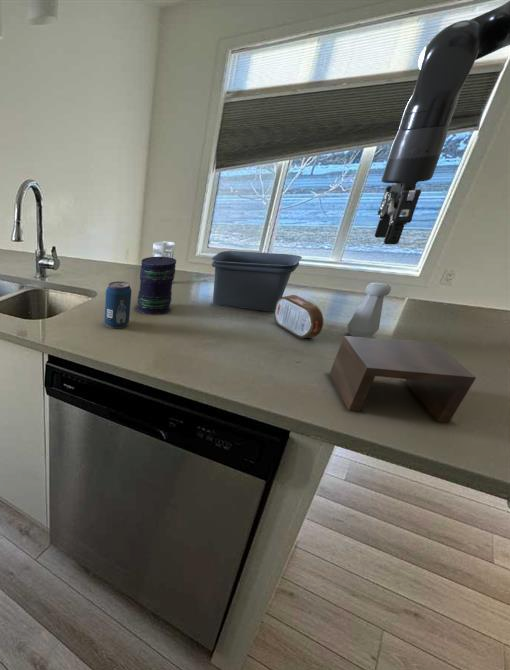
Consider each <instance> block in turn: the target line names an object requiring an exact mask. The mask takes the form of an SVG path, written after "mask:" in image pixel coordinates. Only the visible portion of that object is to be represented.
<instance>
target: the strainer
mask: <svg viewBox="0 0 510 670" xmlns="http://www.w3.org/2000/svg"><path fill="white" fill-rule="evenodd" d="M175 247H176V243H175V242H173V241H167V240H162V241H157V242H153V245H152V253H151V257H170V258H174V255H175Z"/></svg>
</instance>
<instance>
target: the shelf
mask: <svg viewBox="0 0 510 670" xmlns="http://www.w3.org/2000/svg"><path fill="white" fill-rule="evenodd" d="M329 377H330V378H331V380H332V382H333V384H334V386H335V388H336V389H337V392H338V394H339V395H340V397H341V399H342V400H343V402H344V404H345V406H346V407H347V409H348V411H352V412H360V411H361V409H362V407H363V405H364V403H365V400H366V398H367V396H368V393H369V391H370V389H371V386H372V385H373V382H374V380H375V378H376V377H380V378H391V379H400V380H404V383H405V384H406V385H407V387H408V388H409V389H410V390H411V392H412V393H413V394H414V395H415V396H416V397H417V398H418V400H419V401H420V402H421V403H422V404H423V406H424V407H425V408H426V409H427V411H428V412H429V413H430V415H432V417H433V418H434V419H435V420H436V421H437V422H441V423H450V422H451V421H452V419H453V417H454V415H455V414H456V412H457V410H458V409H459V407H460V405H461V404H462V402H463V400H464V399H465V397H466V395H467V393H468V392H469V390H470V388H471V387H472V386H473V384H474V382H475V380H476V379H477V377H476V375H474V374H473V373H472V372H470V371H469V370H468V369H467V368H466V367H465V366H464V365H463V364H462V363H461V362H459V361H458V360H457V359H456V358H455V357H453V356H452V355H451V354H450V353H449V352H448V351H446V350H445V349H444V347H442V346H441V345H440V344H439V343H437V342H436V341H425V340H413V339H397V338H381V337H370V338H369V337H354V336H350V335H344V336H343V337H342V340H341V343H340V345H339V349H338V351H337V353H336V355H335V359H334V360H333V364H332V366H331V369H330V370H329Z"/></svg>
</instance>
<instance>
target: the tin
mask: <svg viewBox="0 0 510 670" xmlns="http://www.w3.org/2000/svg"><path fill="white" fill-rule="evenodd" d="M321 310H322V309H320V308H319V306H318V305H316V304H314V303H312V302H310V301H308V300H306V299H304V298H302V297H301V296H298V295H296V294H290V295H285V296H282V297H281V298H280V299H279V300H278V301H277V303H276V307H275V310H274V319H275V321H276V323H277V324H278V326H280V327H281V328H283V329H285V330H286V331H288V332H289V333H291V334H293V335H294V336H295V337H297V338H299V339H307V338H315V337H317V336H319V334H320V333H321V332H322V330H323V327H324V316H323V312H322V311H321Z"/></svg>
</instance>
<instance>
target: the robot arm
mask: <svg viewBox="0 0 510 670" xmlns="http://www.w3.org/2000/svg"><path fill="white" fill-rule="evenodd" d="M508 46H510V0H508V1H507V2H505V3H503V4H501V5H500V6H498V7H496V8H493V9H491V10H490V11H486V12H485V13H481V14H480V15H477V16H476V17H474V18H471V19H465V20H464V19H463V20H460V21H457V22H454V23H451V24H450V25H447V26H445V27H444V28H443V29H442V30H440V31H439V32H438V33H437V34H435V36H433V38H431V39H430V40H429V42H428V43H427V44H426V45H425V46H424V48H423V49H422V51H421V53H420V55H419V58H418V68H419V73H418V75H417V79H416V83H415V85H414V86H415V87H414V89H413V93H412V95H411V97H410V98H409V101H408V102H407V105H406V106H405V108H404V112H403V115H402V117H401V120H400V123H399V128H398V131H397V133H396V136H395V138H394V140H393V141H392V145H391V148H390V150H389V153H388V157H387V161H386V162H385V163H386V164H385V167H384V170H383V174H382V177H381V179H380V180H381V182H382V183H384V184H392V185H387V186H386V187H385V189H384V194H383V196H382V200H381V201H380V205H379V209H378V210H377V215H378V219H379V220H378V223H377V225H376V226H377V227H376V228H375V232H374V237H375V238H377V239H381V238H384V239H383V240H384V241H383V244H384V245H397V244H398V243H400V240H401V237H402V233H403V230H404V228H405V226H406V225H408V224H410V223H411V222H412V220H413V216H414V213H415V211H416V207H417V204H418V201H419V198H420V196H421V194H422V189H421V188H419V189H416V187H417V183H419V182H428V181H430V180H431V179H432V178H433V177H434V174H435V171H436V168H437V165H438V163H439V159H440V157H441V155H442V151H443V148H444V147H445V143H446V140H447V138H448V137H447V136H448V132H449V128H450V124H451V122H452V119H453V116H454V114H455V111H456V109H457V105H458V100H459V98H460V94H461V91H462V89H463V87H464V85H465V83H466V81H467V79H468V77H469V75H470V73H471V71H472V69H473V66H474V64H475V63H476V61H478V60H480V59H482V58H484V57H486V56H488V55H490V54H492V53H495V52H497V51H499V50H501V49H504V48H506V47H508Z"/></svg>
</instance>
